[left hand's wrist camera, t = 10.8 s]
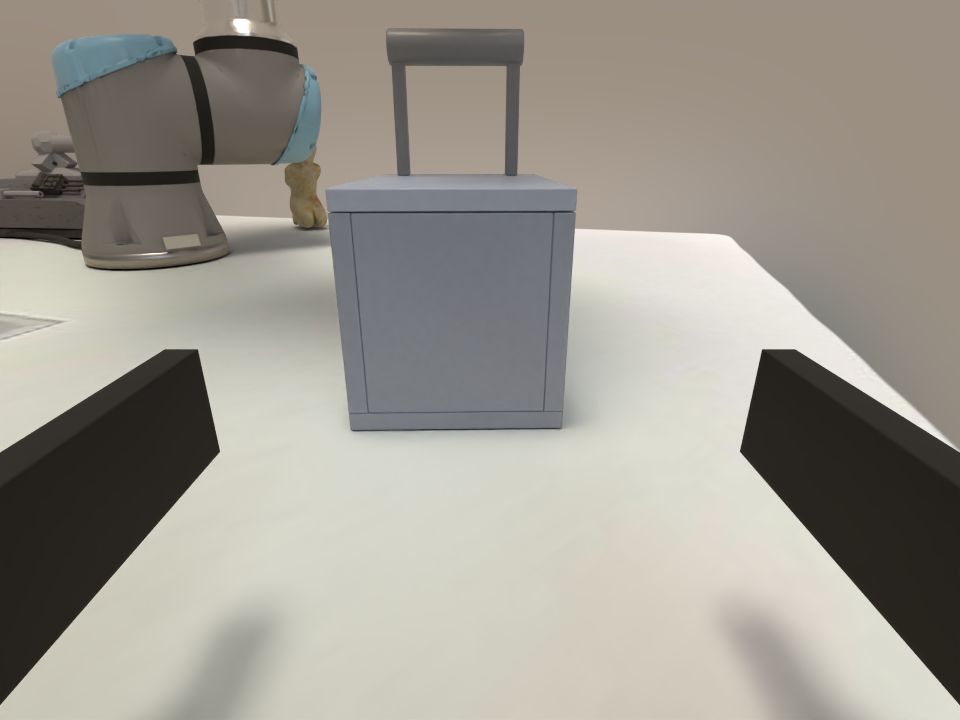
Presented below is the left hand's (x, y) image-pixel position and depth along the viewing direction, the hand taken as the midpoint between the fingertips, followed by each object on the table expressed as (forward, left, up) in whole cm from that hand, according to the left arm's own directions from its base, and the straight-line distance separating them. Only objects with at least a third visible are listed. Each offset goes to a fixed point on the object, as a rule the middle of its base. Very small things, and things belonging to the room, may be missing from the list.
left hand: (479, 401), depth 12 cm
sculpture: (+69, +49, -7) cm, 85 cm away
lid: (+16, +6, +3) cm, 18 cm away
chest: (+16, +6, -7) cm, 18 cm away
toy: (+57, +86, -7) cm, 103 cm away
